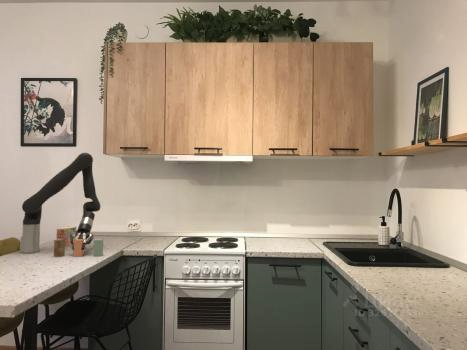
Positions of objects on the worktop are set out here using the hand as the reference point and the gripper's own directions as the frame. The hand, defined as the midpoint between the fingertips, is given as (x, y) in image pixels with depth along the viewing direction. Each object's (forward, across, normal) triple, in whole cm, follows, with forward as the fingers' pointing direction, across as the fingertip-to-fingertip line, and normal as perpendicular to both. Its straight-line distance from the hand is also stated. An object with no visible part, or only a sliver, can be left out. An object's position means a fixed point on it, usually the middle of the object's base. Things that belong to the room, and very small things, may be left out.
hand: (77, 249), depth 187 cm
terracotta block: (+2, 0, +4) cm, 5 cm away
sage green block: (+2, +11, +4) cm, 12 cm away
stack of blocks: (-26, -19, +33) cm, 46 cm away
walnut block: (+2, -11, +4) cm, 12 cm away
